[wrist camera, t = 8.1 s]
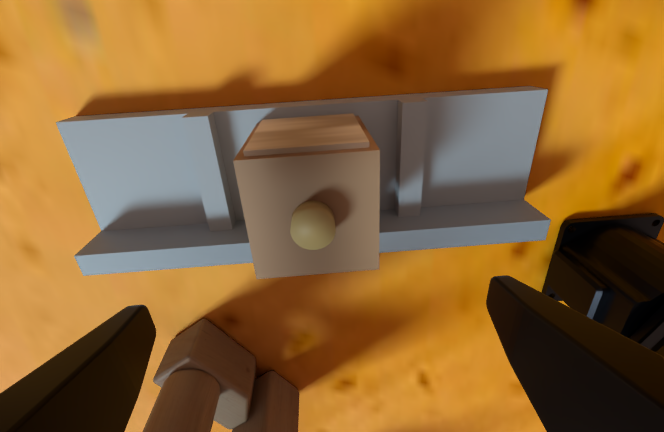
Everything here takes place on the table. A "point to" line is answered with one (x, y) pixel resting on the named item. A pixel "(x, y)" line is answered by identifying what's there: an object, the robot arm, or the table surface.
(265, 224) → the cabinet block
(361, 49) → the table surface
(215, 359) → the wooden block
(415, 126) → the grey slotted rack
